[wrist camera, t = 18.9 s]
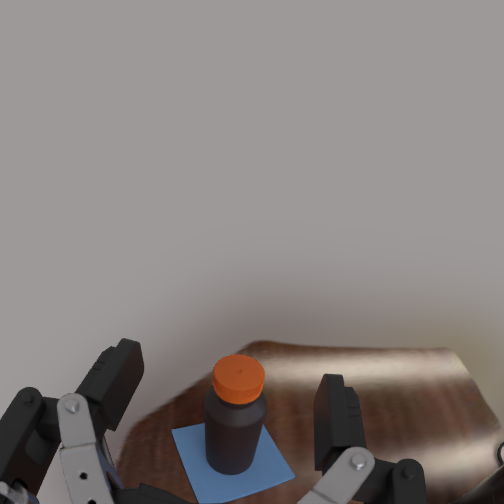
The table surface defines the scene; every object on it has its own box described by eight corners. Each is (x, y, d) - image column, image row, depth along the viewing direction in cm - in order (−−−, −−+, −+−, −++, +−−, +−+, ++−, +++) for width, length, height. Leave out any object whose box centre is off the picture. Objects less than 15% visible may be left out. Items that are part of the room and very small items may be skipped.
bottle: (214, 481, 31) (215, 406, 22) (200, 443, 36) (195, 353, 28) (260, 468, 33) (287, 388, 25) (243, 433, 39) (258, 342, 31)
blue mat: (254, 410, 44) (254, 409, 44) (295, 477, 32) (295, 476, 32) (171, 430, 38) (171, 429, 38) (201, 508, 27) (201, 507, 27)
